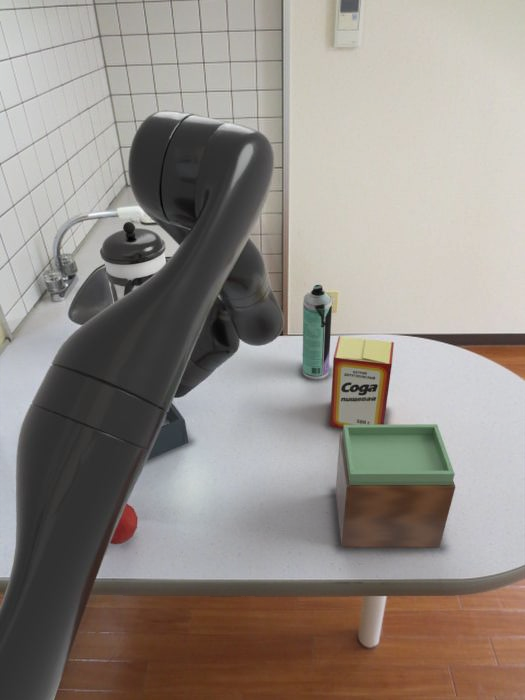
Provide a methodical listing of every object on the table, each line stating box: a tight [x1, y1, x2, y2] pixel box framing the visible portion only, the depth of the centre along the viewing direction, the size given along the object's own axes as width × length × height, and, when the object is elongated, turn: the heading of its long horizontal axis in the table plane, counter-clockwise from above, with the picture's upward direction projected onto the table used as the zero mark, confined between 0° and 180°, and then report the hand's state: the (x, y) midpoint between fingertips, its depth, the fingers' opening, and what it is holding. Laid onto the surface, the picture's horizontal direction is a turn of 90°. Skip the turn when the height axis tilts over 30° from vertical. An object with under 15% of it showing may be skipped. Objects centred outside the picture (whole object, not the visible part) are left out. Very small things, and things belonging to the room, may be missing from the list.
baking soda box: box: [329, 335, 395, 429], centre depth 93 cm, size 10×6×16 cm
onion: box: [109, 503, 139, 545], centre depth 76 cm, size 6×6×8 cm
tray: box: [342, 423, 455, 485], centre depth 71 cm, size 13×9×2 cm
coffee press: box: [99, 221, 168, 304], centre depth 109 cm, size 17×16×30 cm
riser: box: [335, 433, 456, 548], centre depth 76 cm, size 14×10×13 cm
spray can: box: [302, 284, 333, 380], centre depth 104 cm, size 6×6×20 cm
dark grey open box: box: [147, 402, 189, 461], centre depth 94 cm, size 14×14×6 cm
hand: (132, 409), depth 93 cm, fingers open, 8 cm apart
